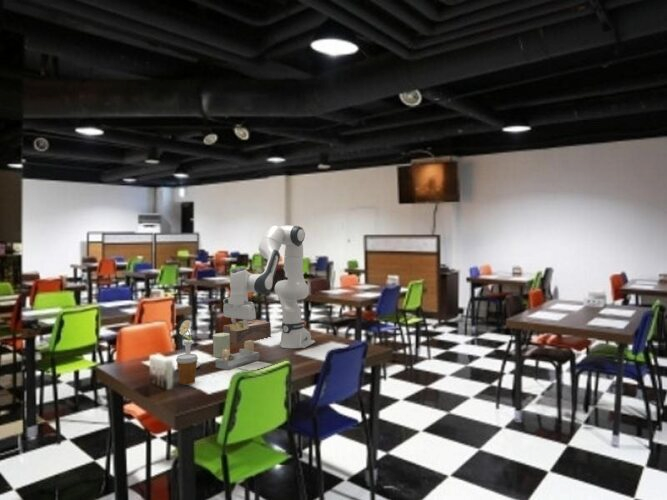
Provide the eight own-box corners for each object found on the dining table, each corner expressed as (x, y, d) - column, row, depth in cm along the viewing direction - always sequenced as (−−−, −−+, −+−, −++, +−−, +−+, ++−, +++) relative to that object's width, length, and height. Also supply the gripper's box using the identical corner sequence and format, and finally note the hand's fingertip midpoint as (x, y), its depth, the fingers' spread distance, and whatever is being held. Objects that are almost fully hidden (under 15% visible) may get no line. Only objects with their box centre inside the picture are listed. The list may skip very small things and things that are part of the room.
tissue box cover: (236, 344, 282) (235, 328, 281) (223, 341, 292) (223, 325, 292) (270, 337, 299) (270, 322, 299) (257, 334, 310) (257, 319, 310)
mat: (257, 362, 242) (257, 361, 242) (271, 365, 236) (271, 363, 236) (237, 368, 230) (237, 367, 230) (252, 372, 224) (252, 370, 224)
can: (226, 357, 251) (225, 335, 251) (210, 357, 253) (209, 335, 253) (233, 353, 260) (232, 332, 260) (217, 352, 262) (217, 331, 262)
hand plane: (247, 357, 251) (246, 339, 251) (259, 359, 246) (259, 341, 246) (215, 367, 233) (215, 347, 233) (228, 370, 228) (227, 350, 228)
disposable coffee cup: (179, 379, 214) (178, 353, 214) (200, 378, 215) (199, 353, 215) (174, 386, 205) (173, 359, 204) (196, 385, 206) (195, 358, 205)
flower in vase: (175, 367, 235) (174, 317, 234) (198, 364, 239) (197, 316, 238) (177, 374, 223) (176, 322, 222) (202, 371, 227) (201, 320, 227)
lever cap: (241, 327, 243) (241, 320, 243) (248, 328, 240) (248, 321, 240) (230, 330, 236) (230, 322, 236) (237, 331, 233) (237, 323, 233)
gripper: (258, 301, 234) (258, 328, 235) (230, 298, 246) (230, 324, 246) (249, 302, 229) (249, 330, 230) (221, 299, 241) (221, 326, 241)
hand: (239, 327), depth 238 cm, fingers closed on lever cap, 5 cm apart
